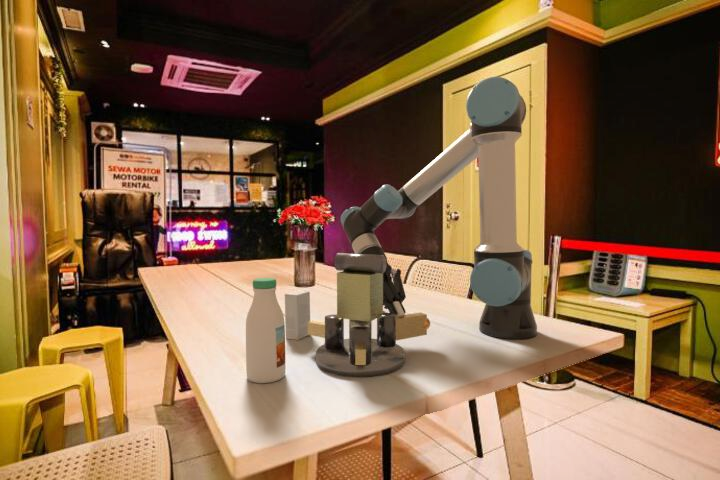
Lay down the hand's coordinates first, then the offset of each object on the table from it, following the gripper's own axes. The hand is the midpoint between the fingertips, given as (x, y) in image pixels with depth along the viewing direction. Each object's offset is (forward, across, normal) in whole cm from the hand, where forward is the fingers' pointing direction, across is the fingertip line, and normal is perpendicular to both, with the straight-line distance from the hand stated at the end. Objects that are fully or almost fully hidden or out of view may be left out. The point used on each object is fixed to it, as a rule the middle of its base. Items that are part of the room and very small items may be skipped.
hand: (404, 326), depth 105 cm
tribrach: (+5, +17, -2) cm, 18 cm away
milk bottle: (+5, +36, -2) cm, 36 cm away
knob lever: (+4, +2, 0) cm, 4 cm away
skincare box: (-11, +20, -19) cm, 29 cm away
